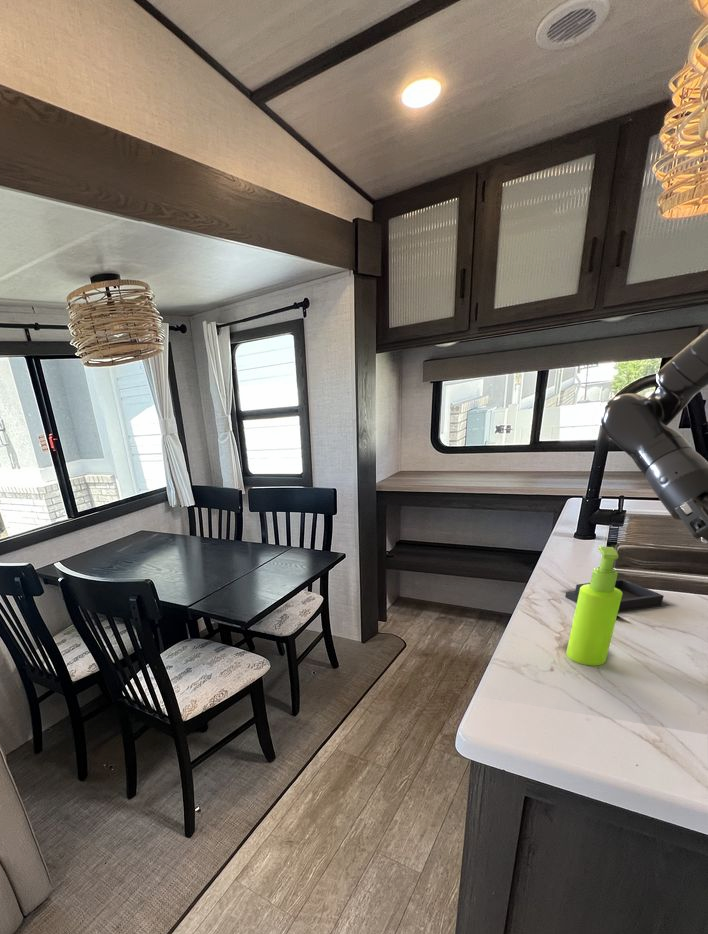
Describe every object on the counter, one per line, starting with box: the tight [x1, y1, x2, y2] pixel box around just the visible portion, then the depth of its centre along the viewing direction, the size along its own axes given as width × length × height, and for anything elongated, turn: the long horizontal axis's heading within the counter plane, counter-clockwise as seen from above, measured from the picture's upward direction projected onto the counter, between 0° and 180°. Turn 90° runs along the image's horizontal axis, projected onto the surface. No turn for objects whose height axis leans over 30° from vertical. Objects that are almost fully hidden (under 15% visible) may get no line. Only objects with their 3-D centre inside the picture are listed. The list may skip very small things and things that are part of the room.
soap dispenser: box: [566, 546, 623, 667], centre depth 80 cm, size 6×7×20 cm
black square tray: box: [564, 577, 670, 619], centre depth 101 cm, size 14×12×3 cm
